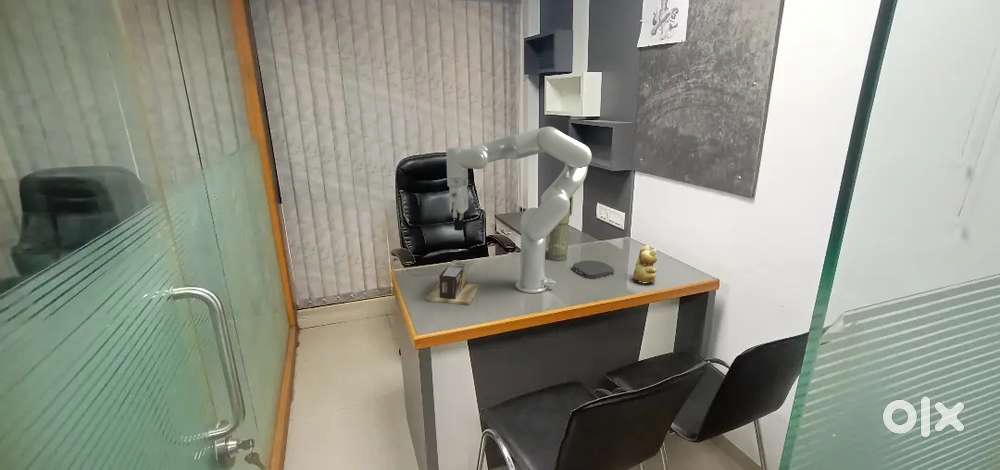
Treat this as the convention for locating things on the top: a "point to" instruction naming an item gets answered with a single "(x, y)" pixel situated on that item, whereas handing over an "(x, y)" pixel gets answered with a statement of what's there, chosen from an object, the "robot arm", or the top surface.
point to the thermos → (560, 238)
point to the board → (462, 298)
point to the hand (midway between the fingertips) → (458, 229)
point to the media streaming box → (593, 269)
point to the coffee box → (453, 279)
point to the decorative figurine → (646, 265)
